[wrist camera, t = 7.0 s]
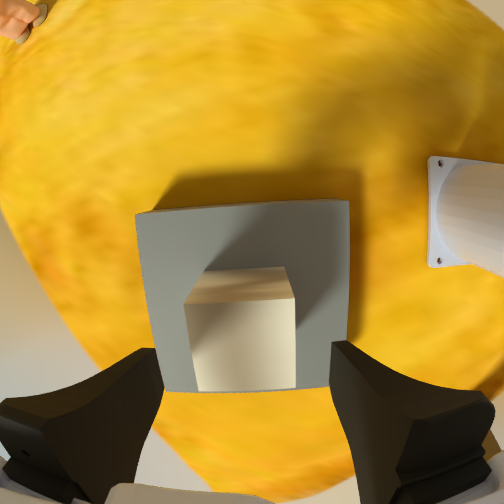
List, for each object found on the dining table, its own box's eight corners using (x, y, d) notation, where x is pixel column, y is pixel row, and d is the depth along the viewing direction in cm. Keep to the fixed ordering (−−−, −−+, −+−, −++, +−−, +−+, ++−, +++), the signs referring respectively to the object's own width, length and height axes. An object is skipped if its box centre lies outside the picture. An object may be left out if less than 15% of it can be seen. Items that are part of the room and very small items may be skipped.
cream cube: (284, 266, 17) (294, 298, 12) (286, 338, 18) (295, 387, 13) (203, 271, 17) (183, 304, 12) (212, 342, 18) (198, 391, 13)
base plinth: (335, 198, 19) (349, 201, 16) (333, 362, 22) (342, 384, 19) (151, 210, 19) (134, 214, 17) (175, 368, 22) (166, 391, 19)
